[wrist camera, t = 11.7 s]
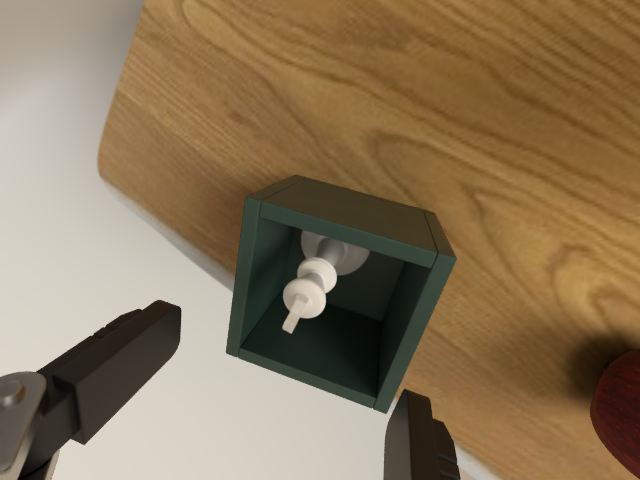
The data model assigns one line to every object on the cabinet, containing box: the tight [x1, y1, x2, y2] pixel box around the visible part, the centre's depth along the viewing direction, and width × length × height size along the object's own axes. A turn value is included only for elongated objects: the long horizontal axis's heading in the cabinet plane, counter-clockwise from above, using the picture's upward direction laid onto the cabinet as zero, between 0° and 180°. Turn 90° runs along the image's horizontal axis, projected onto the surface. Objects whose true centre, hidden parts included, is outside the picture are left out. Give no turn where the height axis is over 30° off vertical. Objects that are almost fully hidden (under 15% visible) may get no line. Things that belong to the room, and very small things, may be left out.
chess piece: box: [282, 230, 370, 334], centre depth 16 cm, size 5×5×10 cm
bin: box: [226, 175, 457, 414], centre depth 18 cm, size 10×10×8 cm
